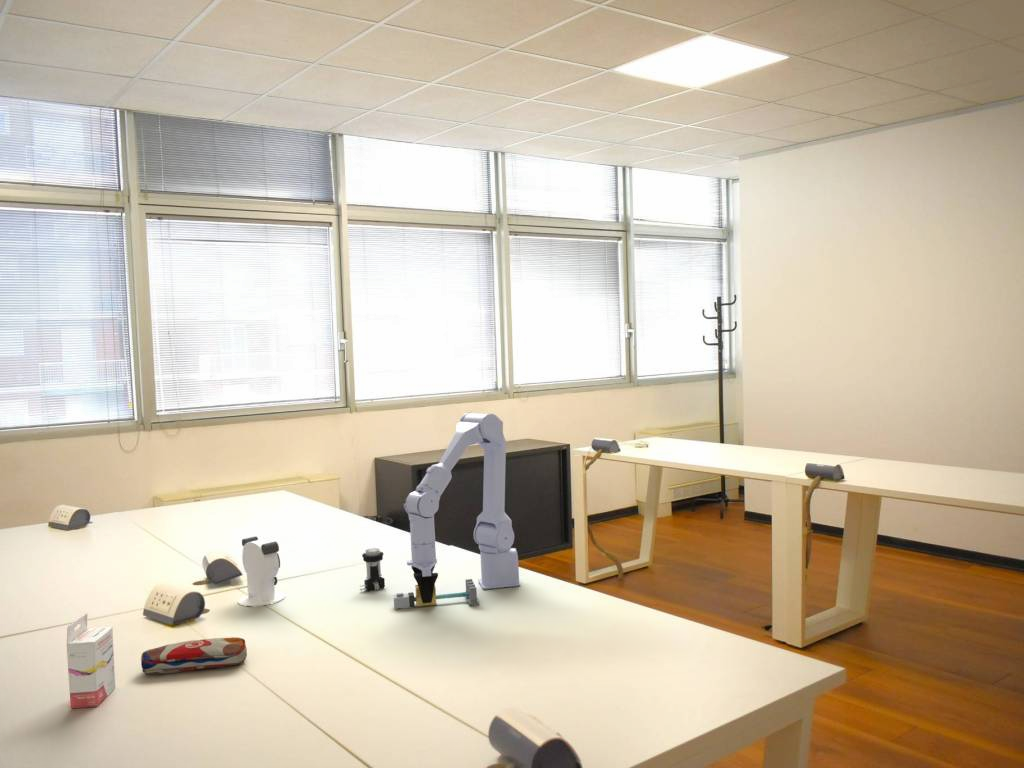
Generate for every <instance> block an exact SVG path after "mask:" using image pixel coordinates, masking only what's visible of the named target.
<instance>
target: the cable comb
mask: <svg viewBox="0 0 1024 768" xmlns="http://www.w3.org/2000/svg"><path fill="white" fill-rule="evenodd" d="M465 592H468V596H465V597H466V598H465V597H464V598H465V599H466V603H467V604H469V605H468V607H471V606H470V605H475V606H480V601H479V598H478V597H477V586H476V584H475V582H474V581H473V578H466V579H465Z"/></svg>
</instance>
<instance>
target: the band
mask: <svg viewBox="0 0 1024 768" xmlns="http://www.w3.org/2000/svg"><path fill="white" fill-rule="evenodd" d="M407 594H408V595H409V606H410V607H413V608H416V607H415V605H416V602H415V601H414V597H415V593H414V592H413V591H411V592H408V593H407Z"/></svg>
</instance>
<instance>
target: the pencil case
mask: <svg viewBox="0 0 1024 768" xmlns="http://www.w3.org/2000/svg"><path fill="white" fill-rule="evenodd" d="M247 650H248V649H247V646H246V640H245V638H241V637H233V636H231V637H215V638H205V639H195V640H193V639H192V640H186V641H180V642H176V643H170V644H166V645H163V646H162V645H161V646H159V647H155V648H151V649H147V650H145V651H144V652H143V653H141V657H140V658H141V659H140V661H141V663H140V664H141V668H142V669H141V670H142V671H141V672H143V673H144V674H148V675H152V674H153V675H154V674H155V675H156V674H173V673H174V674H175V673H179V672H184V671H185V670H186V671H191V670H199V669H207V668H208V669H209V668H218V667H219V668H220V667H226V666H233V665H234V666H235V665H239V664H242V663H244V662H245V661H246V659H247V657H248V652H247ZM186 671H185V672H186Z"/></svg>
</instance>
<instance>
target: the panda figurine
mask: <svg viewBox="0 0 1024 768" xmlns="http://www.w3.org/2000/svg"><path fill="white" fill-rule="evenodd" d="M241 545H242V547H243V548H242V554H241V555H242V566H243V569H244V571H245V573H246V582H247V595H243V596H242V597H240V598H239V599H238V600H237V604H238V603H239V604H242V605H246V606H259V607H263V606H262V605H266V606H269V605H268V604H271V603H275V602H278V601H280V602H282V601H283V600H285V599H284V598H286V594H285V593H284V592H280V591H275V586H277V585H278V577H277V575H278V572H279V569H280V567H281V560H280V559H281V558H280V555H279V553H278V552H279V551H280V547H279V543H278V541H272V542H270V540H268V539H263V538H262V539H259V538H258V536H256V535H255V536H250V537H246V538H242V539H241ZM282 599H283V600H282ZM281 600H282V601H281ZM278 603H279V602H278ZM239 604H238V605H239ZM275 604H276V603H275ZM271 605H272V604H271ZM246 606H245V607H246Z"/></svg>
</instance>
